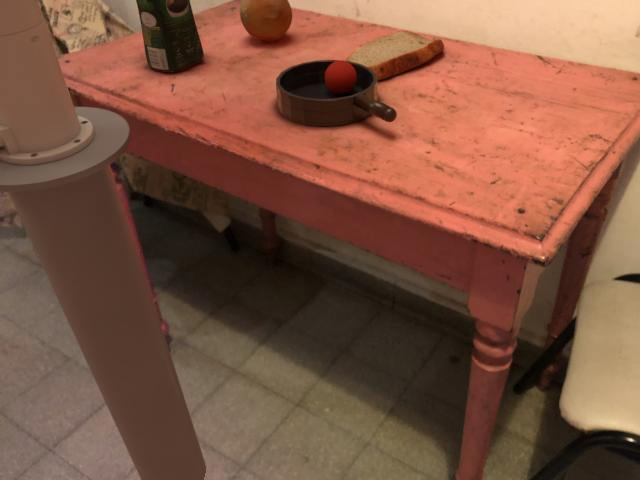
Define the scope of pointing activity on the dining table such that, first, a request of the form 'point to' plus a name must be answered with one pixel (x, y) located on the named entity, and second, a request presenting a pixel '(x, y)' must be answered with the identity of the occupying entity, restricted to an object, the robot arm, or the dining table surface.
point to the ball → (340, 77)
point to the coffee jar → (169, 34)
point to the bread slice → (396, 53)
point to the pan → (321, 94)
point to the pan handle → (375, 108)
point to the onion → (266, 18)
